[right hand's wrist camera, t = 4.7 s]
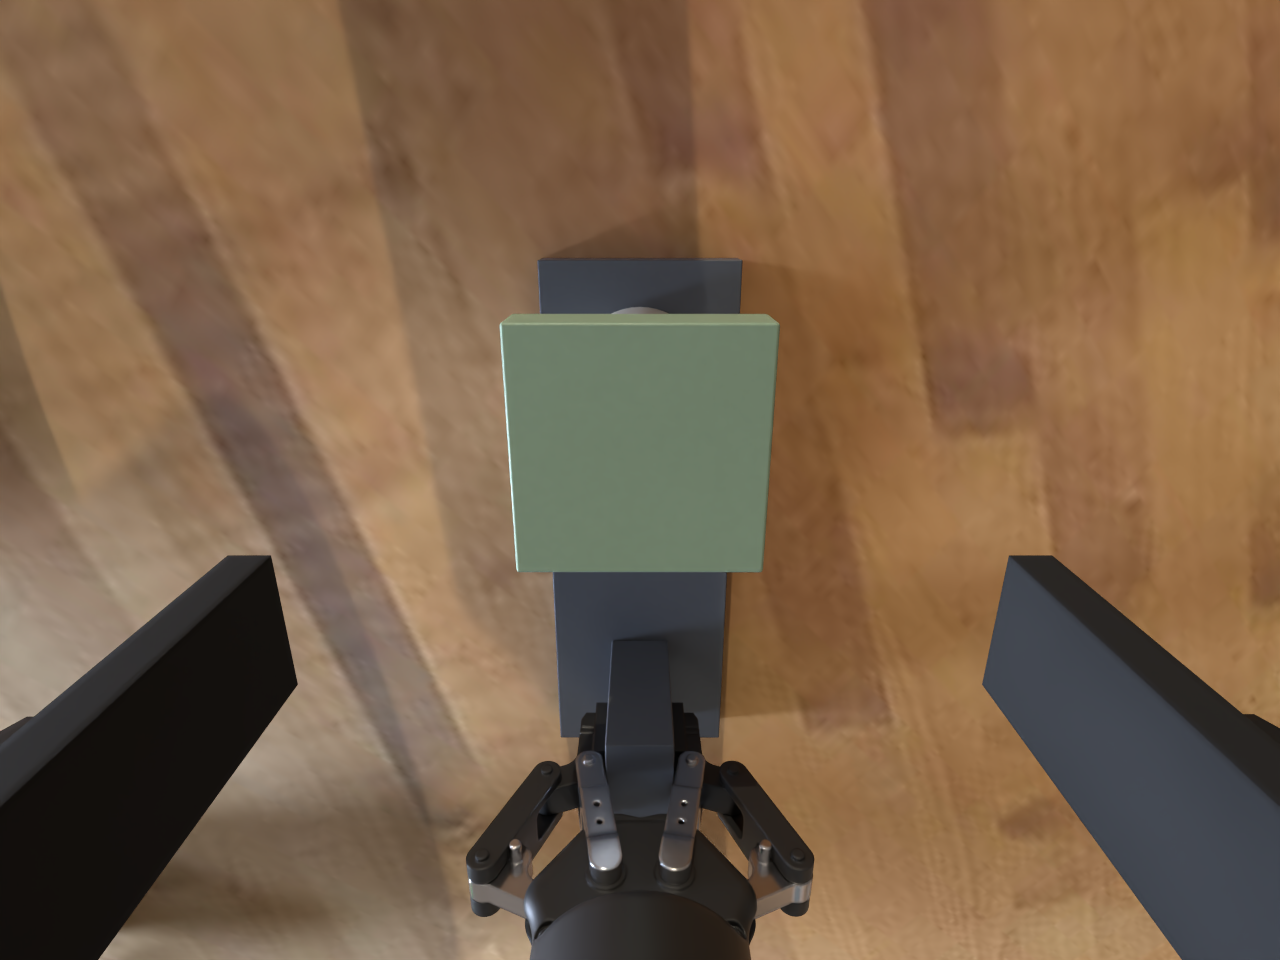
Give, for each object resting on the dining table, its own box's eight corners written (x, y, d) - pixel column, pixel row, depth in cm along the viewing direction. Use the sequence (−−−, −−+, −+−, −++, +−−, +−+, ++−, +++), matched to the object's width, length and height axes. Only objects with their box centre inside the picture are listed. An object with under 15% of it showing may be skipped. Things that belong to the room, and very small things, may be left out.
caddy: (563, 719, 41) (536, 897, 31) (541, 257, 32) (492, 280, 21) (716, 720, 41) (742, 897, 31) (737, 258, 32) (787, 280, 21)
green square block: (532, 524, 26) (516, 573, 23) (520, 306, 24) (499, 322, 20) (746, 524, 26) (763, 573, 23) (759, 306, 24) (780, 323, 20)
